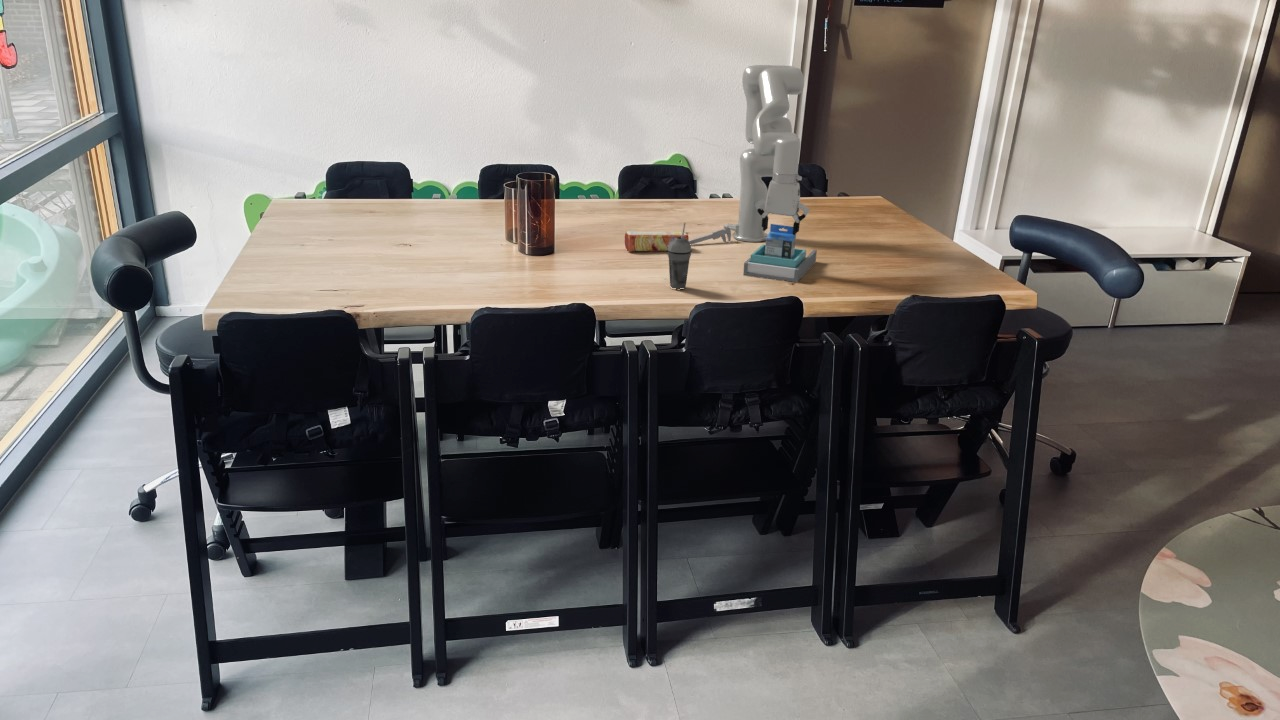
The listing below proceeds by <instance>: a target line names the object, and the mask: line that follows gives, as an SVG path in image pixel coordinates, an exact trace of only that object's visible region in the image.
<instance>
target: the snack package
mask: <svg viewBox="0 0 1280 720" xmlns="http://www.w3.org/2000/svg"><path fill="white" fill-rule="evenodd" d="M682 231H683V230H682ZM682 231H681V230H680V231H662V230H661V231H631V230H630V231H625V234H624V246H625V249H627V250H626V251H627V252H628V251H629V252H628V253H633V252H632V251H650V252H668V251H667V250H668V246H669V243H670V242H671V241H672V240H673V239H674V238H676V237H682ZM683 238H685V239H687V240H690V238H689V234H687V232H685V231H684V236H683Z"/></svg>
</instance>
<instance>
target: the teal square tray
mask: <svg viewBox="0 0 1280 720" xmlns="http://www.w3.org/2000/svg"><path fill="white" fill-rule="evenodd" d="M765 247H766V245H765V244H762V245H760V246H759V247H758V248H757V249H756V250H754V251H753V252H752V253H751V254H750V257H751V259H750V262H751V263H759V264H766V265H774V266H781V267H789V268H797V267H798V266H799V265H800V264H801V263H802V262H803V261H804V260H805V258H806V257H807V249H802V248H795V251H794V260H792V259H784V258H777V257H769V256H765Z"/></svg>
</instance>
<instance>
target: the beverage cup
mask: <svg viewBox="0 0 1280 720" xmlns="http://www.w3.org/2000/svg"><path fill="white" fill-rule="evenodd" d="M686 224H687V223H686V222H684V223H683V227H682V237H676V238H674V239H673V240H672V241H671V242H670V243H669V246H668V250H667V251H666V252H667V256H668V265H669V266H668V270H669V284H670V285H669V286H671V287H672V288H676V289H680V288H685V289H686V285H687V281H688V280H687V279H688V271H689V267H690V266H689V265H690V259H691V255H692V244H691V245H690V243H689V241H688V240H687V239H685V238H683V236H684V232H685V229H686Z"/></svg>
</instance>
